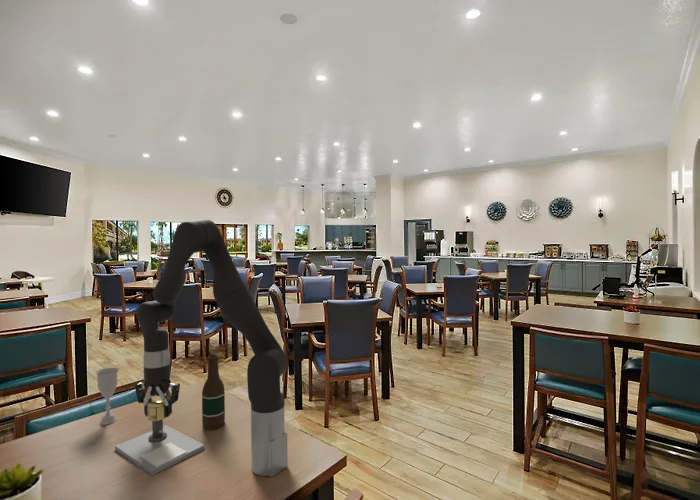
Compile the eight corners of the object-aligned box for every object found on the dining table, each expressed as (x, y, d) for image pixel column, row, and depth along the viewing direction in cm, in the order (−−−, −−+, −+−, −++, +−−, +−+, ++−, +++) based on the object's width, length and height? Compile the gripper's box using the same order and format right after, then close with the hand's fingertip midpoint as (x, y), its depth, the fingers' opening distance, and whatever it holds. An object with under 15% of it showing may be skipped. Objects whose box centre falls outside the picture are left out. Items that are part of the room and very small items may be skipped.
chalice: (123, 420, 135) (122, 370, 135) (102, 428, 129) (101, 375, 129) (113, 415, 139) (112, 366, 138) (92, 422, 133) (91, 371, 133)
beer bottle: (229, 419, 135) (228, 353, 134) (219, 430, 127) (218, 359, 127) (208, 419, 136) (207, 352, 135) (197, 429, 128) (196, 359, 127)
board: (204, 448, 116) (204, 419, 116) (152, 475, 103) (151, 442, 103) (166, 428, 129) (165, 401, 128) (115, 449, 116) (114, 420, 115)
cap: (160, 422, 116) (160, 406, 116) (142, 422, 117) (142, 406, 117) (172, 412, 123) (172, 396, 123) (155, 411, 124) (155, 396, 124)
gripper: (127, 366, 117) (129, 420, 117) (171, 367, 115) (173, 422, 116) (143, 359, 124) (144, 410, 125) (184, 360, 123) (186, 411, 123)
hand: (158, 415), depth 120 cm, fingers closed on cap, 5 cm apart
